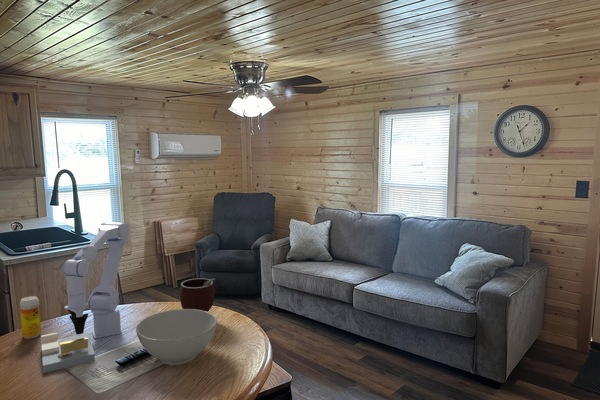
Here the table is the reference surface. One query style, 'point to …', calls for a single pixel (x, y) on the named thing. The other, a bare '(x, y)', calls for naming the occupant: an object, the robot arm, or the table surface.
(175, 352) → the decorative bowl
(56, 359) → the grey flat rectangular board
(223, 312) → the table surface
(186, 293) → the mate gourd
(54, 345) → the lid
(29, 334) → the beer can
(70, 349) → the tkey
